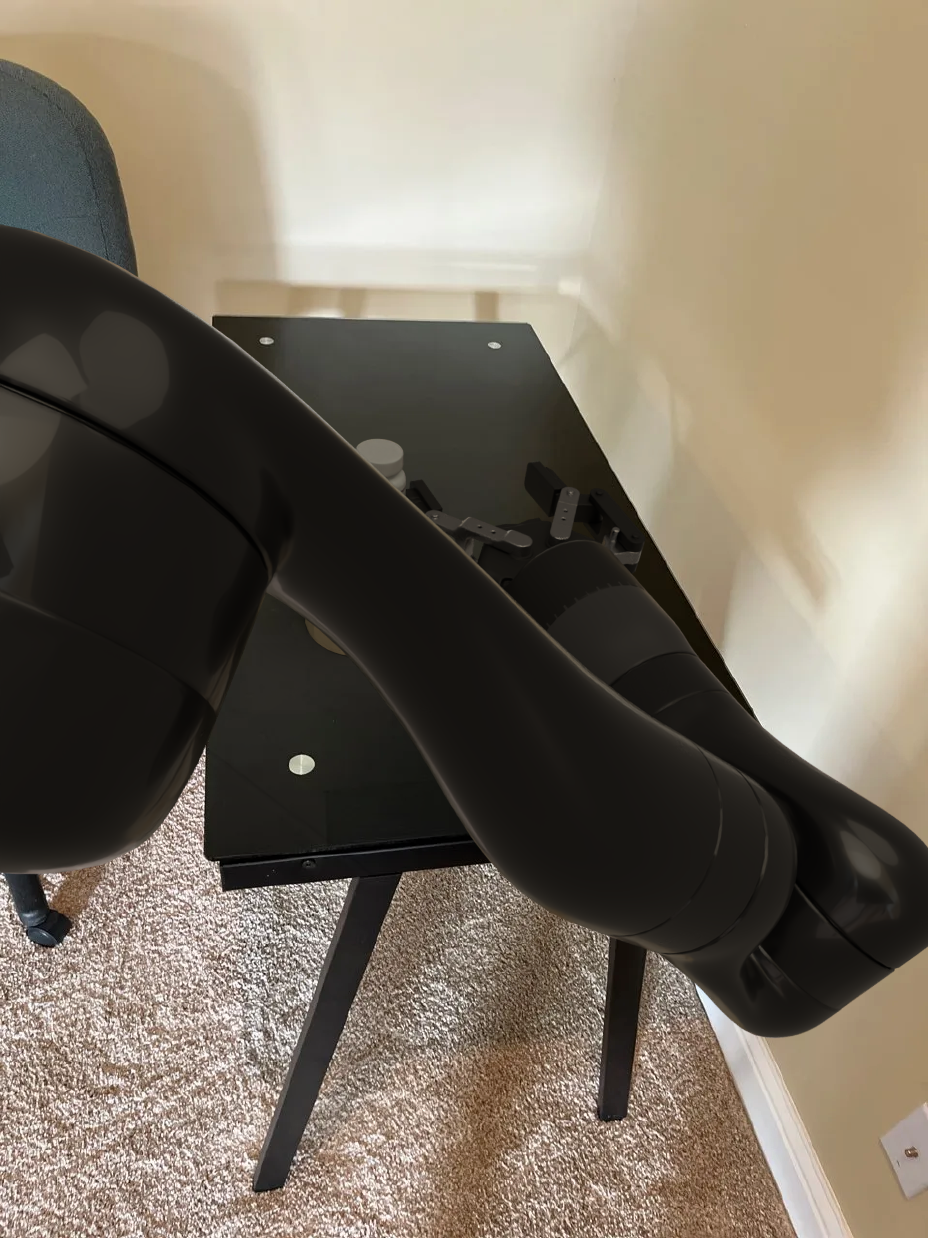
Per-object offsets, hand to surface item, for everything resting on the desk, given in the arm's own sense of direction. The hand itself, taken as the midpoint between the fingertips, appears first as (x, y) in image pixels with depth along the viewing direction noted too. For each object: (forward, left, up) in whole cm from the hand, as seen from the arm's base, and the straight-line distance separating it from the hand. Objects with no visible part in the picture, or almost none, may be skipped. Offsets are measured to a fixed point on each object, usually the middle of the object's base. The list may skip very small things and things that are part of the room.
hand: (473, 481), depth 55 cm
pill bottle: (+20, +24, -28) cm, 42 cm away
